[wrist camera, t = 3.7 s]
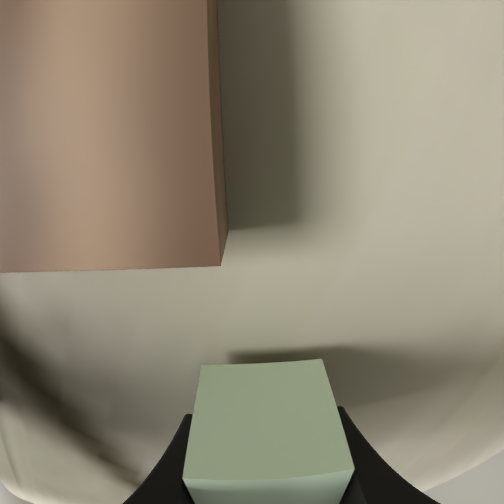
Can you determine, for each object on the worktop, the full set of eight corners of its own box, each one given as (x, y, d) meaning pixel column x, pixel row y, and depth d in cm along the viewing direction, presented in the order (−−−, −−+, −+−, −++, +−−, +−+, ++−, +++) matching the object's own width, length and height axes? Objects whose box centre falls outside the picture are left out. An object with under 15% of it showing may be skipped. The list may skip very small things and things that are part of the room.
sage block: (215, 434, 13) (208, 527, 8) (201, 364, 11) (182, 478, 6) (312, 429, 13) (330, 520, 8) (321, 358, 11) (354, 468, 6)
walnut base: (-38, 251, 10) (-76, 273, 8) (-37, 4, 6) (-71, -4, 3) (228, 231, 10) (220, 265, 8) (216, -98, 6) (209, -141, 3)
